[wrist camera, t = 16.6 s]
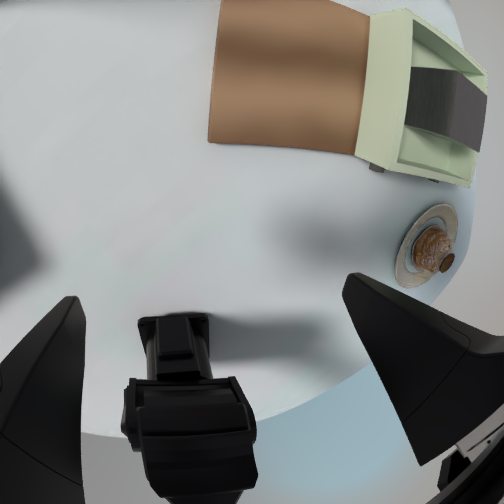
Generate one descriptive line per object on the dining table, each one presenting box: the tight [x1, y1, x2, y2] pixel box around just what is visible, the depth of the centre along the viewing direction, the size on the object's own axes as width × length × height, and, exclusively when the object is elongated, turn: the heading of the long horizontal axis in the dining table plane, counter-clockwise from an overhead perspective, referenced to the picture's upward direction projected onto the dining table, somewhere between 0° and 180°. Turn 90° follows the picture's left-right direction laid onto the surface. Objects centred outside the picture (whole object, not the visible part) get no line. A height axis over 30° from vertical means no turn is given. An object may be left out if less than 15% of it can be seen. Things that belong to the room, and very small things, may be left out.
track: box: [208, 0, 370, 155], centre depth 17 cm, size 12×24×1 cm, turn 84°
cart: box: [354, 8, 487, 188], centre depth 16 cm, size 14×12×4 cm
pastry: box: [395, 204, 458, 288], centre depth 28 cm, size 12×12×5 cm
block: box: [404, 67, 487, 152], centre depth 15 cm, size 5×5×5 cm
